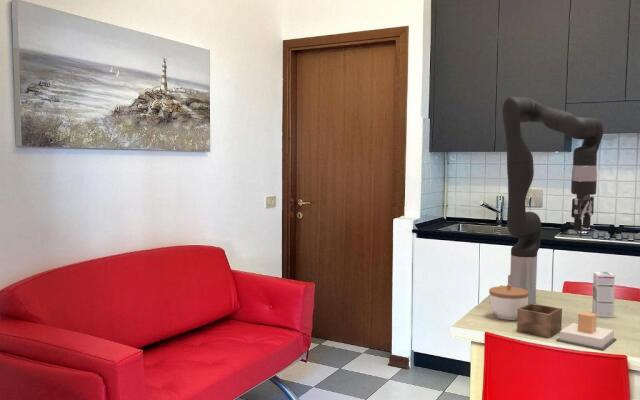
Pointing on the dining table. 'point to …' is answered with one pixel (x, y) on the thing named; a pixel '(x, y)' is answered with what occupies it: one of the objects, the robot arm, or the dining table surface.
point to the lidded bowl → (507, 301)
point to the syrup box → (603, 294)
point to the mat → (588, 345)
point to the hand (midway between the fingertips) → (582, 229)
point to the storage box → (539, 320)
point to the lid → (587, 331)
